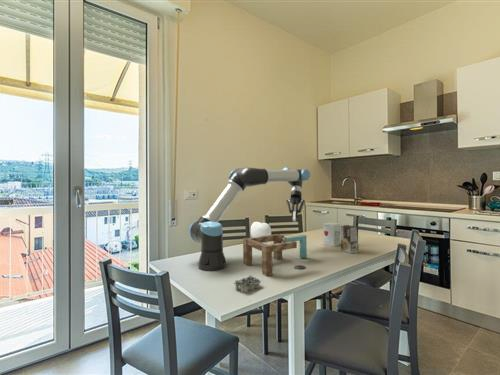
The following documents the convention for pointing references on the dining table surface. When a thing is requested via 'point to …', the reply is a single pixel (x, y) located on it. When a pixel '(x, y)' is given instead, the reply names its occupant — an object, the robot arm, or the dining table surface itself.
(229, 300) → the dining table surface
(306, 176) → the robot arm
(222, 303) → the dining table surface
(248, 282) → the grey knobbly lump
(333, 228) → the supplement box
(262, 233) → the decorative heart
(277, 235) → the stool frame
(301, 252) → the folding leg
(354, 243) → the coffee box
